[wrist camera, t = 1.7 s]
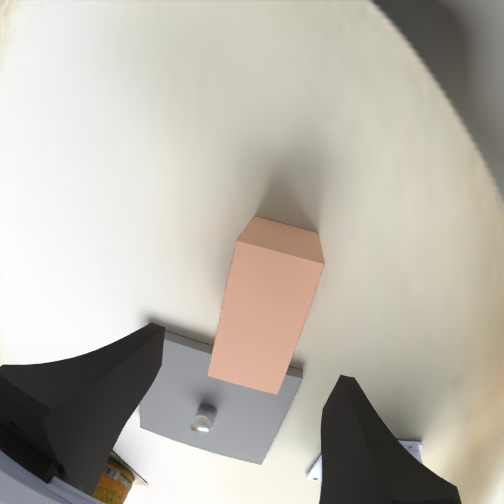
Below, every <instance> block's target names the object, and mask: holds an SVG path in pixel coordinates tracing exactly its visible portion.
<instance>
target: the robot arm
mask: <svg viewBox="0 0 504 504" xmlns="http://www.w3.org/2000/svg"><path fill="white" fill-rule="evenodd" d="M164 336H165V327H162V326H159V325H156V324H154V323H151V324H149V325H147V326H145V327H143V328H141V329H139V330H137V331H135V332H133V333H131V334H130V335H128V336H126V337H124V338H122V339H120V340H118V341H116V342H114V343H111V344H109V345H107V346H104V347H102V348H100V349H97V350H95V351H92V352H89V353H87V354H83V355H80V356H77V357H73V358H69V359H64V360H60V361H55V362H49V363H41V364H30V365H2V366H1V367H0V504H105V503H103V502H101V501H99V500H97V499H95V498H93V497H92V496H93V494H94V491H95V488H96V486H97V483H98V481H99V478H100V476H101V474H102V471H103V469H104V467H105V464H106V462H107V460H108V458H109V456H110V453H111V451H112V449H113V447H114V445H115V443H116V441H117V439H118V437H119V435H120V433H121V431H122V429H123V427H124V426H125V424H126V422H127V421H128V419H129V418H130V416H131V415H132V413H133V412H134V411H135V409H136V408H137V406H138V405H139V403H140V402H141V400H142V399H143V397H144V396H145V394H146V393H147V392H148V390H149V389H150V387H151V386H152V384H153V382H154V380H155V378H156V376H157V374H158V372H159V370H160V368H161V366H162V357H163V346H164ZM422 447H423V443H422V442H416V441H400V440H397V439H396V438H395V437H394V435H393V434H392V433H391V432H390V431H389V429H388V428H387V427H386V425H385V424H384V423H383V421H382V420H381V418H380V417H379V416H378V414H377V413H376V411H375V410H374V408H373V407H372V405H371V403H370V402H369V400H368V399H367V397H366V395H365V394H364V392H363V390H362V389H361V387H360V386H359V384H358V382H357V381H356V379H355V378H354V377H348V376H343V375H340V377H339V379H338V381H337V383H336V385H335V387H334V389H333V391H332V393H331V394H330V396H329V398H328V400H327V402H326V404H325V406H324V407H323V411H322V420H321V456H320V457H319V458H318V460H317V461H316V463H315V464H314V466H313V467H312V468H311V470H310V471H309V472H308V474H307V475H306V479H307V480H311V481H319V482H320V501H319V504H461V500H460V496H459V492H458V489H457V487H456V486H454V485H453V484H451V483H449V482H448V481H446V480H444V479H443V478H441V477H439V476H438V475H436V474H435V473H433V472H432V471H431V470H429V469H428V468H427V467H425V466H424V465H423V464H422V460H421V456H420V452H419V451H420V450H421V448H422Z"/></svg>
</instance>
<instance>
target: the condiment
mask: <svg viewBox="0 0 504 504" xmlns="http://www.w3.org/2000/svg"><path fill="white" fill-rule="evenodd" d="M117 460H118V461H117ZM132 484H139V485H148V484H147V483H146V482H145V481H144V480H143V479H142V478H141V477H139V476H138V475H137V474H136V473H135V472H134V471H133V470H132V469H131V468H129V467H128V466H127V465H125V464H124V463H123V461H122V460H121V459H120V458H119V457H118V456H117V455H116V454H114V453H113V452H112V451H111V453H110V456H109V458H108V460H107V462H106V464H105V467H104V469H103V471H102V474H101V476H100V478H99V481H98V483H97V486H96V488H95V491H94V494H93V496H92V497H93V498H95V499H97V500H99V501H101V502H103V503H105V504H123V503H124V501H125V499H126V497H127V495H128V492H129V491H130V489H131V487H132Z"/></svg>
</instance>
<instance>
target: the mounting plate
mask: <svg viewBox="0 0 504 504" xmlns="http://www.w3.org/2000/svg"><path fill="white" fill-rule="evenodd" d="M213 347H214V346H211V345H208V344H205V343H201V342H198V341H195V340H192V339H189V338H186V337H183V336H179V335H176V334H173V333H170V332H168V331H165V336H164V346H163V357H162V366H161V368H160V370H159V372H158V374H157V376H156V378H155V380H154V382H153V384H152V386H151V387H150V389H149V390H148V392H147V393H146V394H145V396H144V397H143V399H142V400H141V402H140V428H143V429H145V430H148V431H151V432H153V433H156V434H158V435H161V436H164V437H167V438H169V439H172V440H175V441H178V442H181V443H184V444H187V445H190V446H193V447H196V448H199V449H203V450H206V451H209V452H213V453H216V454H220V455H223V456H227V457H231V458H235V459H239V460H243V461H247V462H251V463H256V464H260V465H261V464H262V462H263V460H264V459H265V457H266V455H267V453H268V451H269V449H270V447H271V445H272V443H273V441H274V439H275V437H276V435H277V433H278V431H279V428H280V426H281V424H282V422H283V420H284V418H285V416H286V414H287V412H288V409H289V407H290V405H291V403H292V401H293V399H294V396H295V394H296V392H297V390H298V387H299V385H300V383H301V381H302V376H303V370H301V369H296V368H292V367H288V369H287V371H286V374H285V376H284V379H283V382H282V384H281V387H280V389H279V392H278V394H277V395H276V394H272V393H268V392H264V391H260V390H256V389H252V388H248V387H245V386H241V385H237V384H234V383H230V382H227V381H223V380H220V379H217V378H213V377H210V376H207V375H208V371H209V366H210V361H211V356H212V351H213ZM201 404H209V405H212V406H213V407H215V408H216V410H217V416H216V419H215V421H214V424H213V427H212V430H211V433H210V434H209V435H207V436H201V435H198V434H196V433H194V432H193V431H192V430H191V424H192V422H193V419H194V417H195V414H196V412H197V410H198V407H199V406H200V405H201Z"/></svg>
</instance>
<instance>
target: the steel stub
mask: <svg viewBox="0 0 504 504" xmlns="http://www.w3.org/2000/svg"><path fill="white" fill-rule="evenodd" d="M216 416H217V410H216V408H215V407H213V406H212V405H209V404H201V405H200V406H199V407H198V410H197V412H196V414H195V417H194V419H193V422H192V424H191V430H192V431H193V432H194V433H196V434H198V435H201V436H207V435H209V434H210V433H211V430H212V427H213V424H214V421H215V419H216Z"/></svg>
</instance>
